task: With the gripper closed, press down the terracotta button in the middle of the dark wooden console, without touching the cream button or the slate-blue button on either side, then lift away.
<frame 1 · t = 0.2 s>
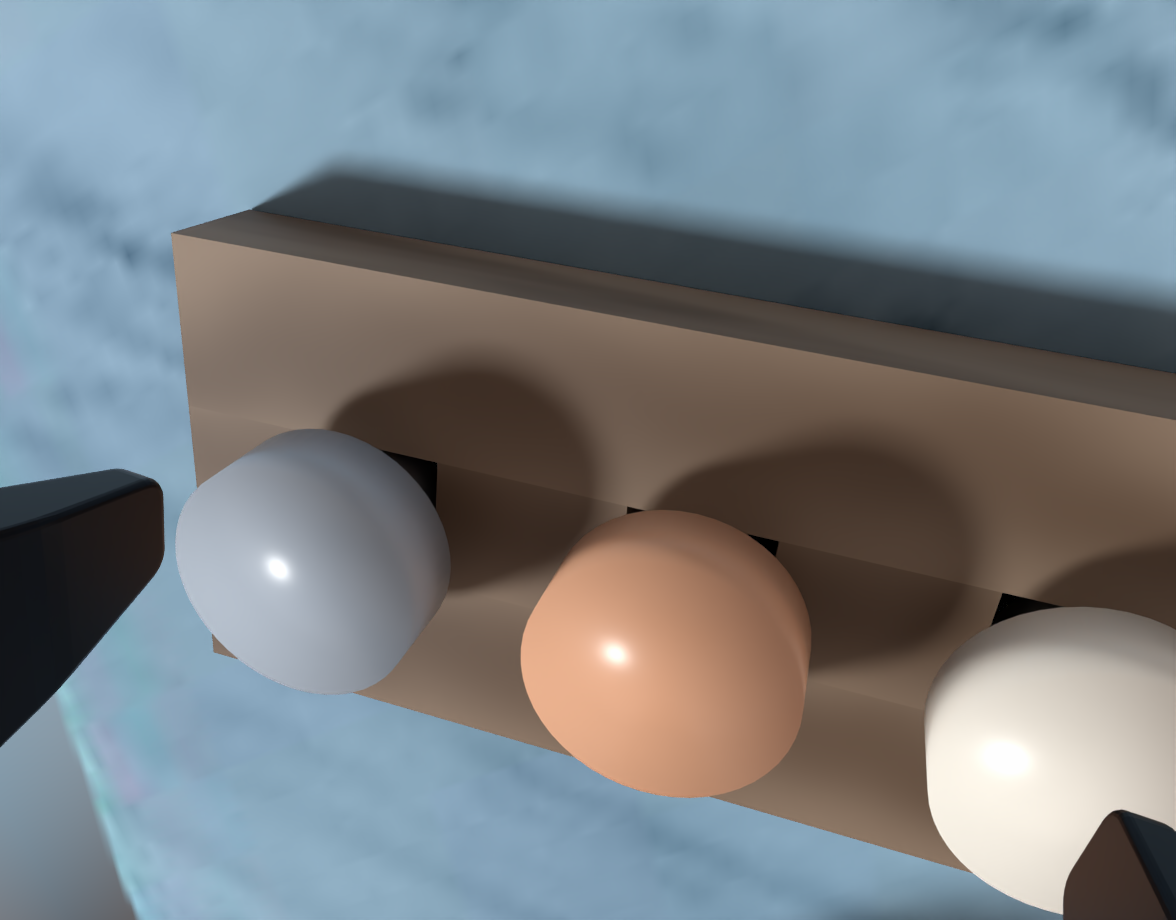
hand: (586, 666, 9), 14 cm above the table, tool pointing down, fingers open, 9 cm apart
terracotta button: (681, 614, 20), point 4 cm above the table, slide at 0.0 cm
cream button: (1072, 712, 19), point 4 cm above the table, slide at 0.0 cm
console: (712, 525, 24), on the table
slate button: (349, 530, 22), point 4 cm above the table, slide at 0.0 cm
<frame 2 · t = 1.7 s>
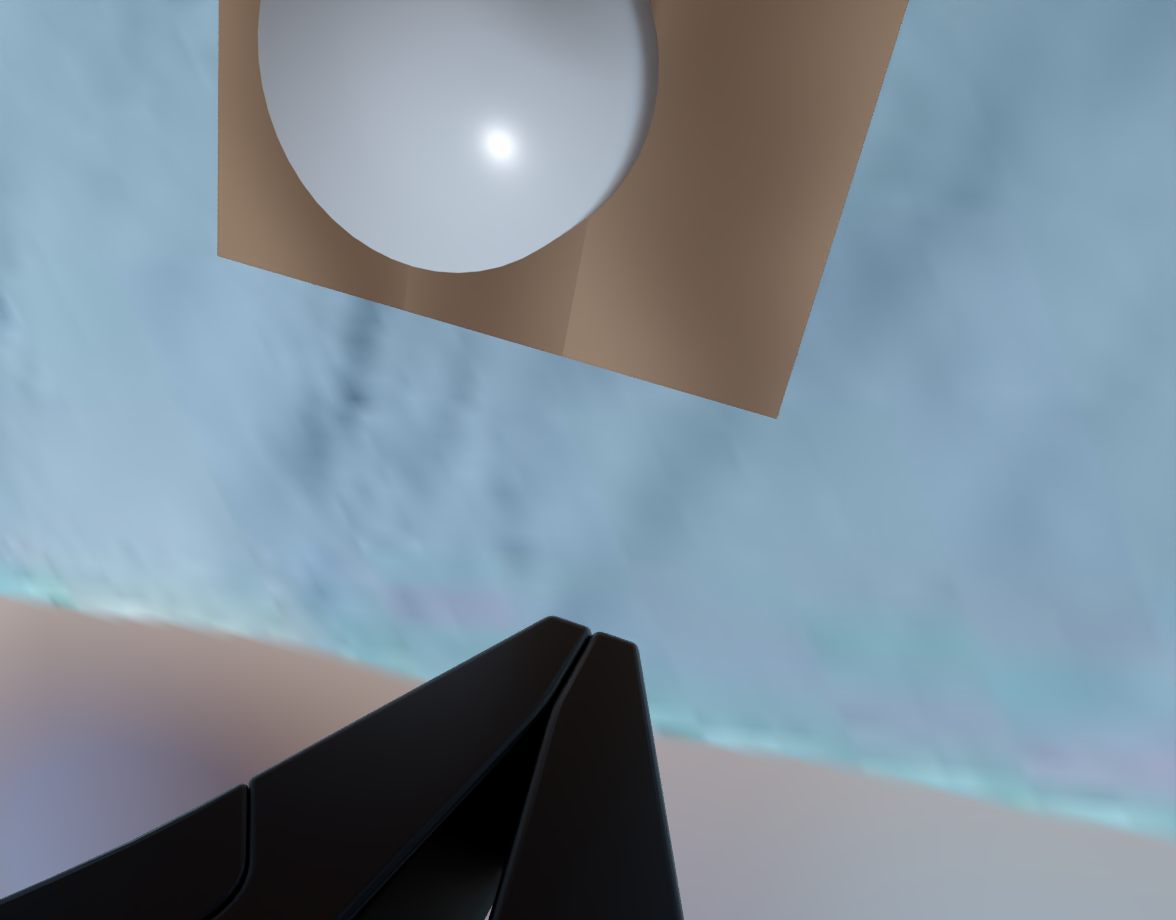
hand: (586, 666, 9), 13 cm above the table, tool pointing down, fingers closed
slate button: (498, 68, 15), point 4 cm above the table, slide at 0.0 cm
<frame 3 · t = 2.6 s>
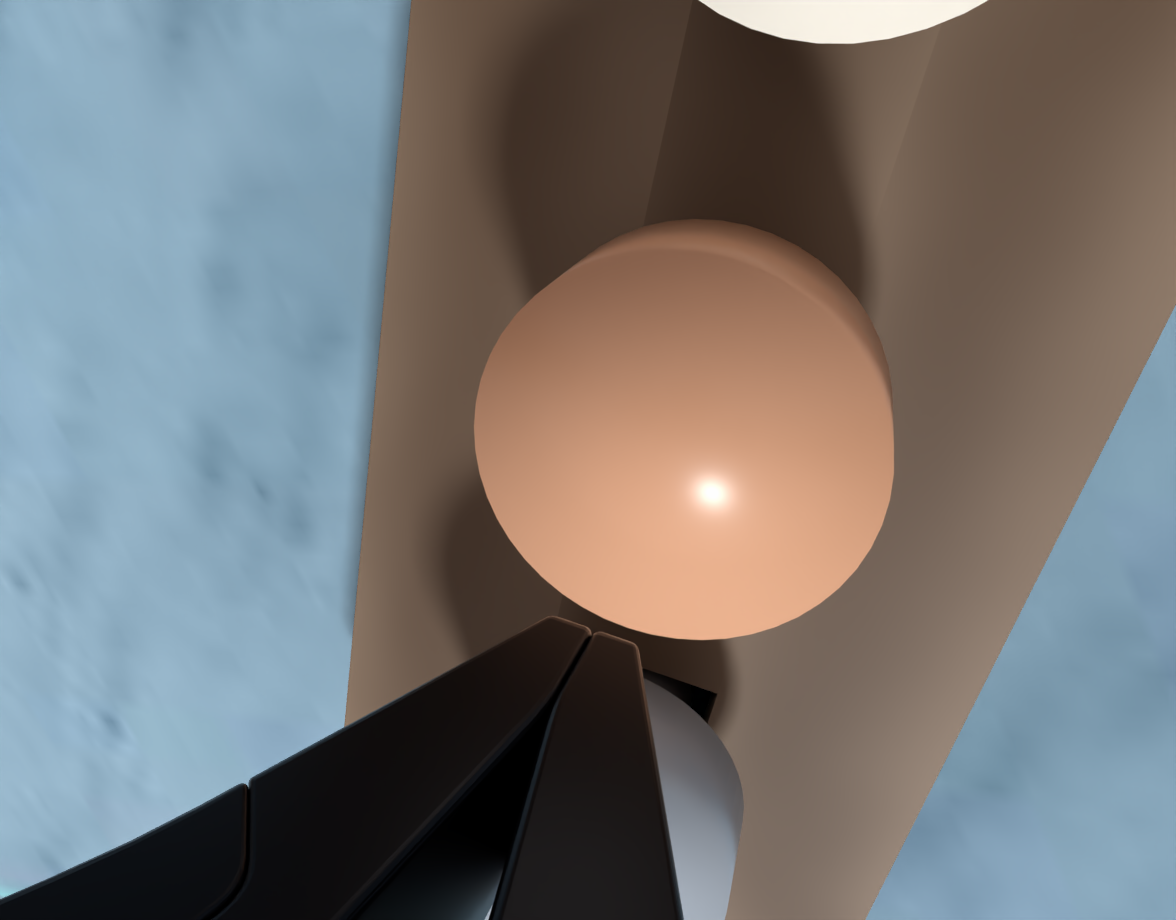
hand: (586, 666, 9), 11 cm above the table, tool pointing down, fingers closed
terracotta button: (703, 396, 15), point 4 cm above the table, slide at 0.0 cm
console: (738, 323, 18), on the table
slate button: (602, 765, 18), point 4 cm above the table, slide at 0.0 cm
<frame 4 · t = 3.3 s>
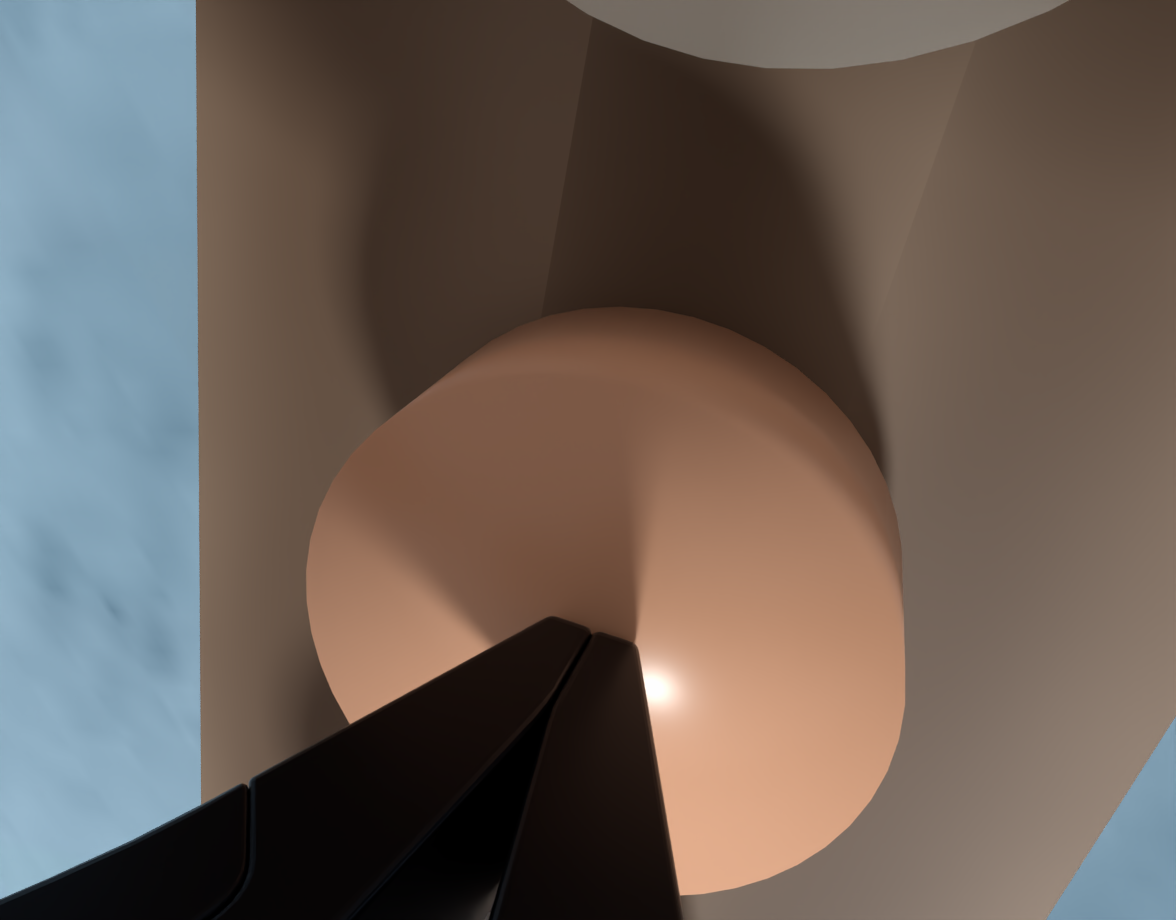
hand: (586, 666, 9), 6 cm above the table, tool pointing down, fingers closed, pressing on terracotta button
terracotta button: (643, 535, 11), point 3 cm above the table, slide at 0.9 cm, touching gripper
console: (694, 429, 14), on the table
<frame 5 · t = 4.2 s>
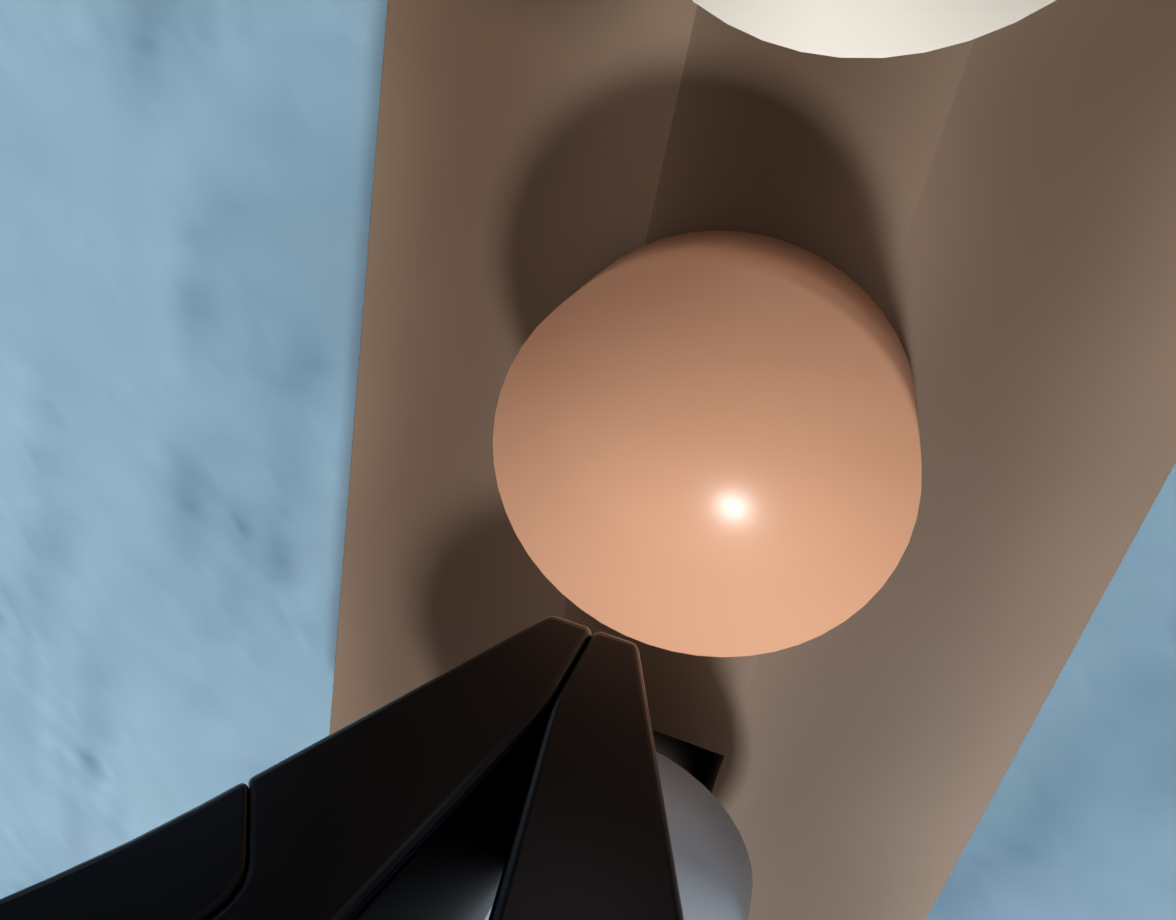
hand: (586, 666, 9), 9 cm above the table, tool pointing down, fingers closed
terracotta button: (723, 408, 14), point 3 cm above the table, slide at 1.4 cm
console: (747, 354, 17), on the table
slate button: (599, 832, 17), point 4 cm above the table, slide at 0.0 cm
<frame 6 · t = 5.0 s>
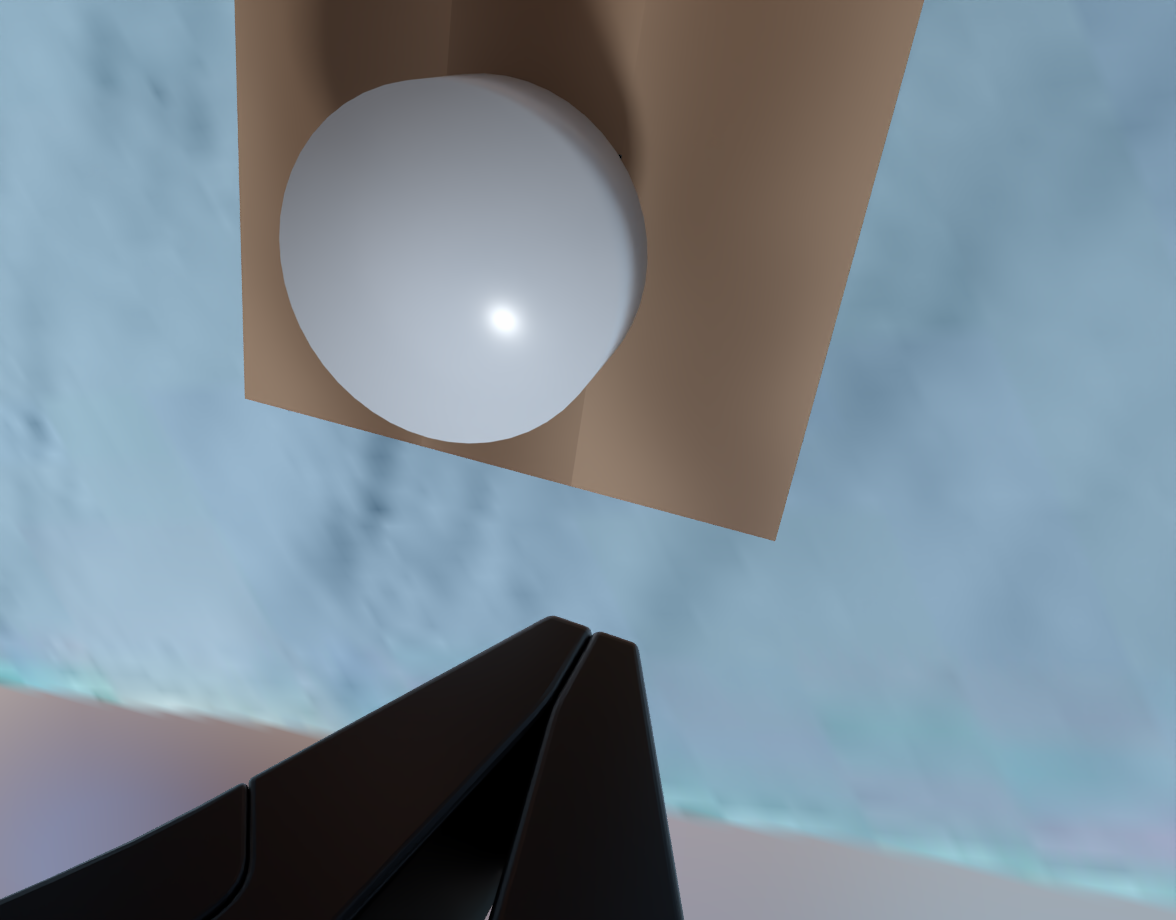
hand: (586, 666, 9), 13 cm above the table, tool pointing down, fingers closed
slate button: (499, 243, 17), point 4 cm above the table, slide at 0.0 cm
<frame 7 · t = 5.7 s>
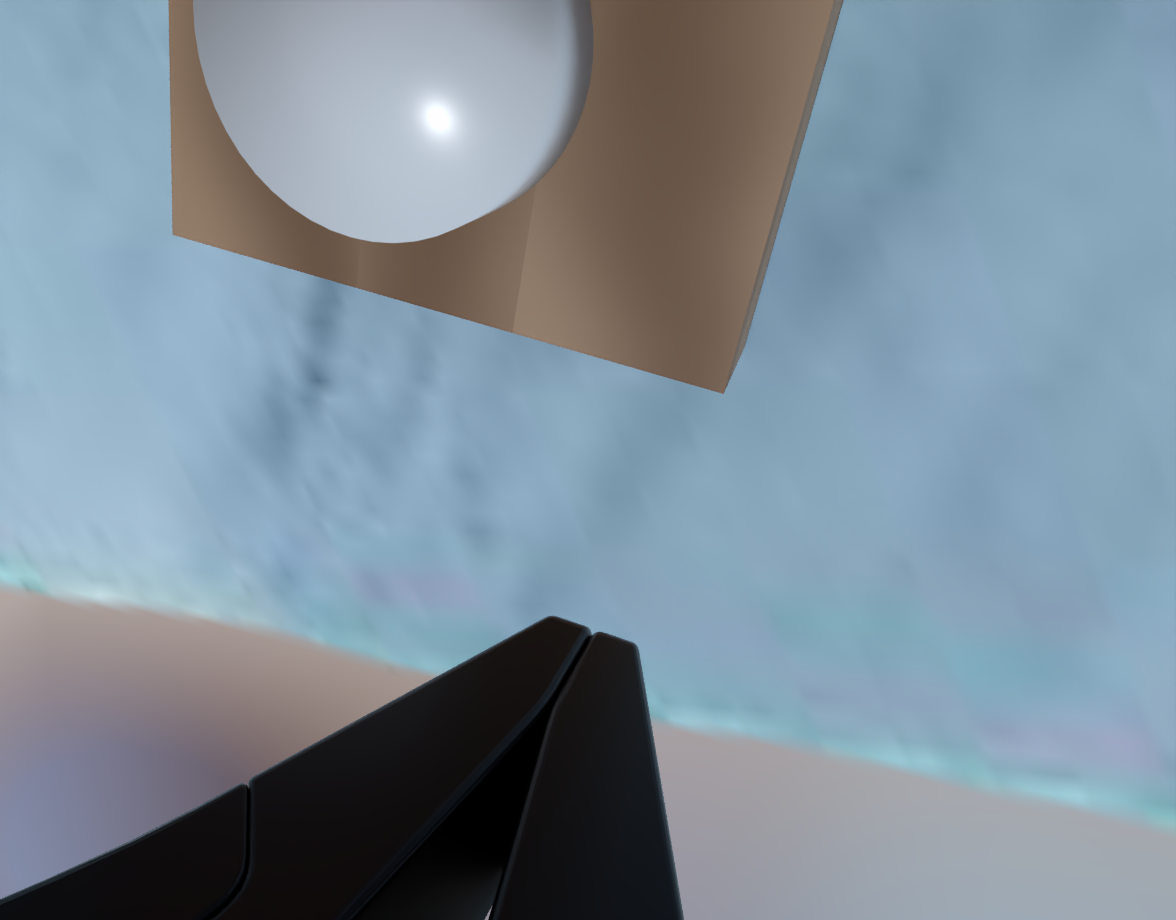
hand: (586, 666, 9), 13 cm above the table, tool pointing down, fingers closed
slate button: (438, 42, 15), point 4 cm above the table, slide at 0.0 cm
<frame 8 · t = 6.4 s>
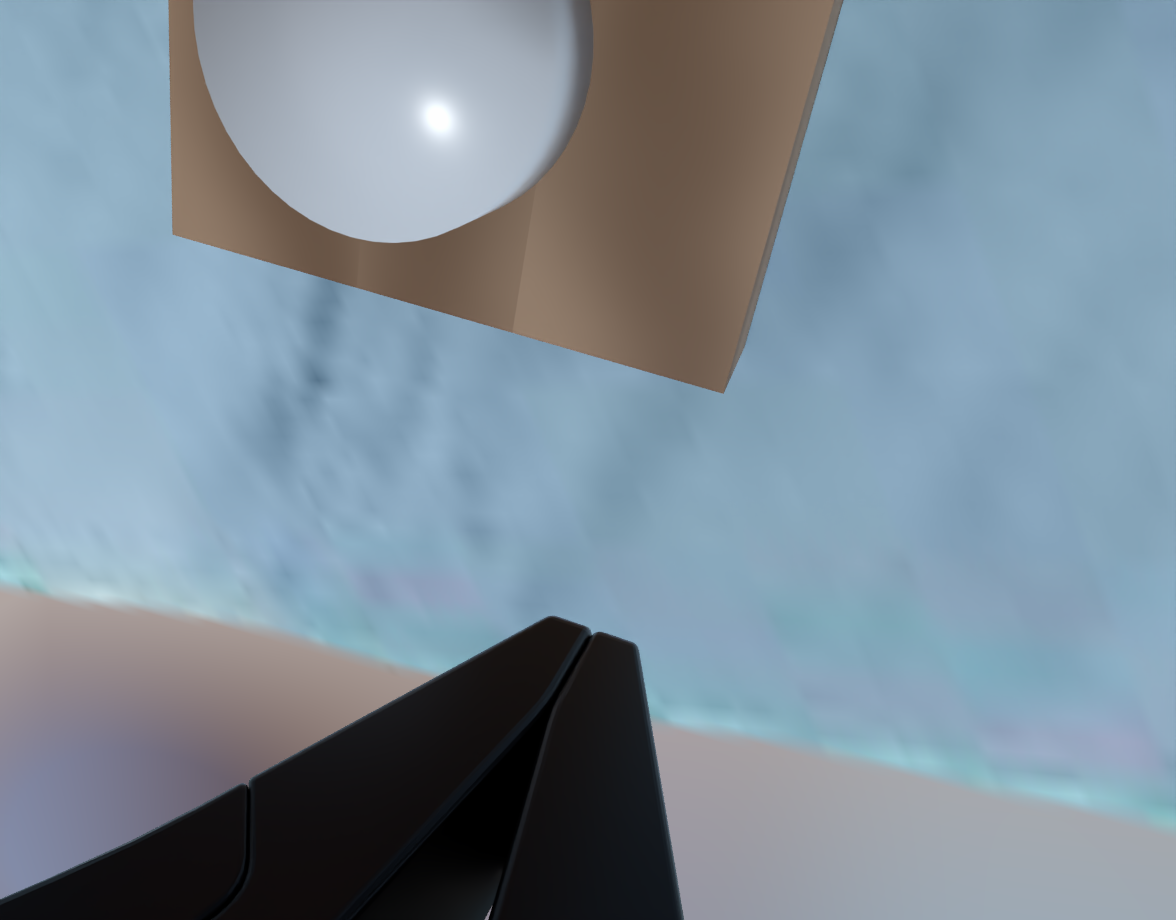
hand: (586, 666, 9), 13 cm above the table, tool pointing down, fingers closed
slate button: (438, 41, 15), point 4 cm above the table, slide at 0.0 cm
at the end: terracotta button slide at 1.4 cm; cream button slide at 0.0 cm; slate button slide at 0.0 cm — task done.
